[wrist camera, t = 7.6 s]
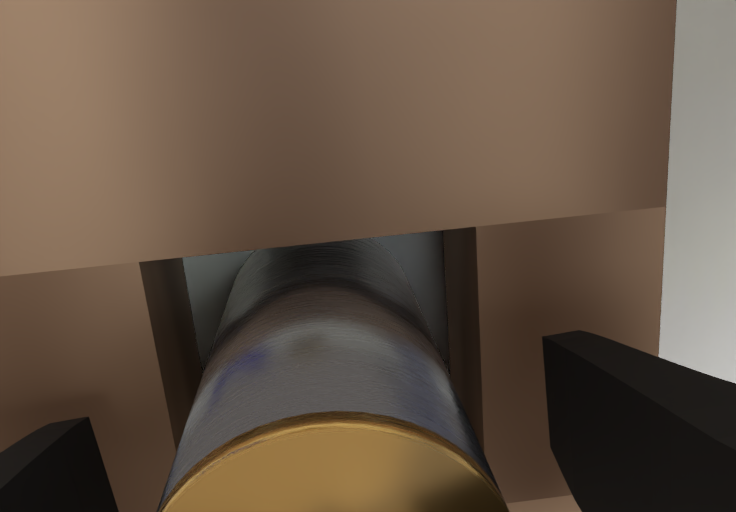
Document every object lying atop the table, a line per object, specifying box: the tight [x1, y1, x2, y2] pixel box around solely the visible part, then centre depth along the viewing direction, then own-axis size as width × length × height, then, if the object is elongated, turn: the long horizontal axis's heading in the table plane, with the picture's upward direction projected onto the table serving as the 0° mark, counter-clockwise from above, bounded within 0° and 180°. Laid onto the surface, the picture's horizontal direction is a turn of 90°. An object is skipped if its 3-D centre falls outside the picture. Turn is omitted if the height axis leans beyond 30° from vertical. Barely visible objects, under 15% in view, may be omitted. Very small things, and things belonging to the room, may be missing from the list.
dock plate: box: [0, 0, 677, 512], centre depth 13 cm, size 12×14×3 cm
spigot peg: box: [156, 238, 509, 512], centre depth 10 cm, size 4×4×8 cm
